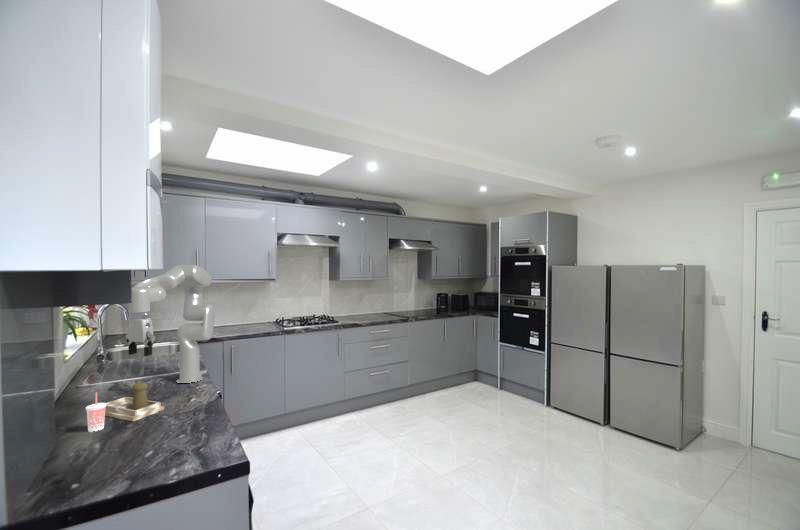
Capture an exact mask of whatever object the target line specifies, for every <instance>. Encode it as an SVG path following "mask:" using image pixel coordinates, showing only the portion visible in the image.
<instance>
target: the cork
mask: <svg viewBox="0 0 800 530" xmlns="http://www.w3.org/2000/svg"><path fill="white" fill-rule="evenodd" d="M131 388H132V389H131V390H132V392H133V397H132V398H133V402H132V408H131V410H138V409H141V408H144V407H147V406H148V401H147V400H148V396H147V389H148V383H146V382H137V383H135V384H133V386H132V387H131Z"/></svg>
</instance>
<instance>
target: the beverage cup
mask: <svg viewBox="0 0 800 530" xmlns="http://www.w3.org/2000/svg"><path fill="white" fill-rule="evenodd" d="M106 404H107V402H98V392H95V403H93V404H92V403H91V404H90V405H87V406H86V407H85V411H86V417H87V418H86V419H87V431H88V432H89V433H94V432H93V431H95V432H98V430H99V431H101V430H103V429H104V427H105V420H106V416H105V408H106Z"/></svg>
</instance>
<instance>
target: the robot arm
mask: <svg viewBox="0 0 800 530" xmlns="http://www.w3.org/2000/svg"><path fill="white" fill-rule="evenodd" d="M212 280H213V279H212V275H211V273H209V271H207V270H205V269H204V268H203V267H202V266H199V265H197V264H178V265H175V266H172V267H171V268H169V270H167V271H166V272H164V273H163V274H160V275H158V276H155V277H152V278H149V279H145V280H142V281H140V282H139V283H137V284H135V285H134V286H133V287H132V288H131V289H132V303H129V302H128V320H129V321H128V329H127V331H128V332H127V333H126V334H125V338H126V339H125V340H126V343H127V346H128V355H130V356H131V355H136V354H137V353H138V347H137V346H138V345H137V343H142V344H143V345H144V347H143V357H150V356H152V355H153V346H154V344H155V340H156V336H155V335H154V326H153V321H152V318H151V304H153V303H154V304H156V303H161V302H163V301H164V300H165V299H166V298H167V291H171V290H173V289H175V288H176V287H178V286H180V288H181V290H182V291H183V294H184V304H183V312H182V317H183V319H184V320H185V321H187V322H188V323H184V324H182V325H180V326H179V327H178V328H177V338H178V345H179V378H178V379H176V381H175V382H177V383H190V384H192V383H191V382H195V383H198V382H200V380H201V381H203V376H202V375H206V374H207V373H208V370H207V369H204V370H200V368H201V367H200V365H201V364H200V362H201V360H200V357H201V356H200V351H201V350H200V346H199V344H198V342H199V341H200V342H202V341H209V340H211V339H212V337H213V335H214V328H215V327H214V326H215V318H216V317H215V316H216V311H215V310H216V309H215V307H214V305H213V304H210V303H202V301H203V294H202V292H201V290H200V289H199V288H207V287H210V285H211V284H212V282H213V281H212ZM189 322H194V323H189ZM195 322H201V323H195ZM197 341H198V342H197ZM197 381H198V382H197ZM177 383H176V384H177Z"/></svg>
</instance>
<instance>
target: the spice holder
mask: <svg viewBox="0 0 800 530" xmlns="http://www.w3.org/2000/svg"><path fill="white" fill-rule="evenodd" d="M147 401H148V406H147V407H144V408H141V409H138V410H131V408H132V402H133V397H130V396H124V397H121V398H118V399H115V400H111V401H108V402H106V403H107V404H106V408H105V417H108V416H109V418H113V417H114V419H117V420H118V419H119V420H123V421H124V420H125V421H128V422H135V421H138V420H141V419H144V418H145V417H149V416H151V415H154V414H157V413H159V411H160V412H162V411H164V409H165V406H164V405H161V403H162V402H160V401H156V400H155V401H153V400H148V399H147Z"/></svg>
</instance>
